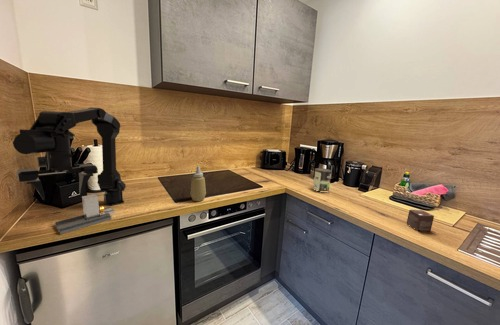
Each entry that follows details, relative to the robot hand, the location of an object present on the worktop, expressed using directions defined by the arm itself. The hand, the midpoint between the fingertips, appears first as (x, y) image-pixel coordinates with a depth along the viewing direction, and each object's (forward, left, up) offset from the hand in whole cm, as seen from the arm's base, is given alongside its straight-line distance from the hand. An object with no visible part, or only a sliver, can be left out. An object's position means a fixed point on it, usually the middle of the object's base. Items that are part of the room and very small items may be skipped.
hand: (63, 196), depth 67 cm
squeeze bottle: (-50, +8, -13) cm, 52 cm away
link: (-10, -4, -12) cm, 16 cm away
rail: (-5, -4, -13) cm, 14 cm away
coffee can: (-117, +51, -13) cm, 128 cm away
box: (-96, +100, -13) cm, 139 cm away
